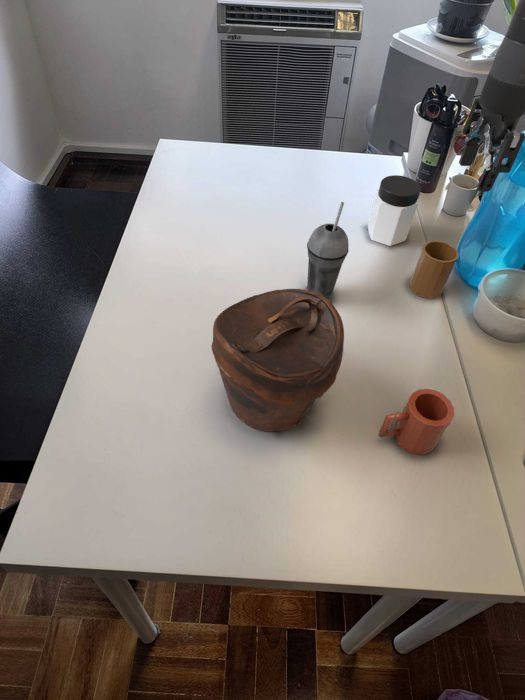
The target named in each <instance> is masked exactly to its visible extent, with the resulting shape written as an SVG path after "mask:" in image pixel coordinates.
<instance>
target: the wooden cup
mask: <svg viewBox="0 0 525 700" xmlns="http://www.w3.org/2000/svg"><path fill="white" fill-rule="evenodd" d="M458 259H459V251H458V250H457V248H456V247H455V246H454V245H452V244H451V243H448V242H446V241H443V240H429V241H426V242H425V243H424V244H423V246H422V248H421V251H420V254H419V257H418V259H417V262H416V265H415V267H414V270H413V273H412V275H411V278H410V281H409V288H410V289H409V290H411V292H412V293H413V294H415V295H416V296H418V297H420V298H423V299H429V300H430V299H432V300H433V299H437V298H438V297H440V296H441V295H442V293H443V291H444V290H445V288H446V285H447V283H448V281H449V278H450V277H451V274H452V272H453V269H454V267H455V265H456V263H457V261H458Z"/></svg>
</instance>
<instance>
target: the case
mask: <svg viewBox="0 0 525 700" xmlns="http://www.w3.org/2000/svg"><path fill="white" fill-rule="evenodd" d="M343 323H344V322H343V320H342V317H341V315H340V313H339V311H338V310H337V308H336V306H335V305H334V304H333V303H332V302H331V300H328V299H326V298H325V297H323V296H322V295H320V294H318V293H315V292H313V291H309V290H307V289H301V288H284V289H274V290H270V291H266V292H262V293H259V294H255V295H252V296H249V297H246V298H244V299H242V300H240V301H238V302H236V303H233V304H232V305H230V306H228V307H226V308H225V309H224V310H223V311H221V313H219V314H218V315H217V316H216V318H215V319H214V322H213V325H212V342H211V345H210V346H211V351H212V355H213V357H214V361H215V363H216V366H217V368H218V370H219V373H220V377H221V381H222V383H223V388H224V391H225V394H226V396H227V400H228V402H229V403H228V404H229V406H230V408H231V410H232V412H233V414H234V415H235V417H236V418H238V419H239V420H240V422H242V423H244V424H245V425H246V426H248V427H250V428H252V429H255V430H259V431H264V432H280V431H281V432H282V431H285V430H288V429H290V428H292V427H295V426H298V425H300V424H302V423H303V422H304V421H305V419H306V417H307V414H308V413H309V411H310V409H311V407H312V406H313V404H314V403H315V401H316V400H317V399H320V398H322V396H324V395H325V394H326V393H327V392H328V391H329V390H330V389H331V388H332V386H333V385H334V384H335V382H336V379H337V375H338V373H339V370H340V368H341V365H342V360H343V354H344V343H345V329H344V324H343Z"/></svg>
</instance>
